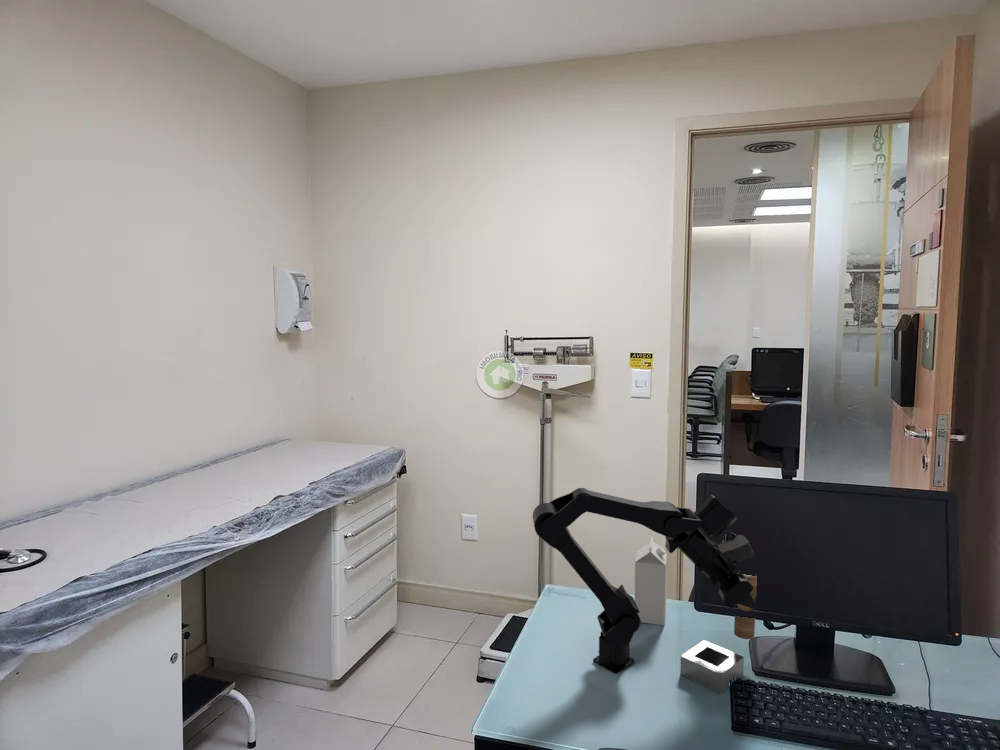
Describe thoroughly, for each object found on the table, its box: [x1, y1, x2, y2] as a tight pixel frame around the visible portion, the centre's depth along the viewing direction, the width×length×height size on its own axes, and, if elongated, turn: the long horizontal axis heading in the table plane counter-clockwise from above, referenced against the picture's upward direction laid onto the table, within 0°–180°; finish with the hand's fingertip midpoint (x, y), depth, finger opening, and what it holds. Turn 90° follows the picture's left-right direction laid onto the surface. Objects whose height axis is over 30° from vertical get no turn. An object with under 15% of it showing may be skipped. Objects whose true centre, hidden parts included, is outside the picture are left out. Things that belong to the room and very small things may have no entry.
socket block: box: [679, 639, 745, 695], centre depth 129 cm, size 9×9×4 cm
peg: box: [733, 573, 758, 640], centre depth 133 cm, size 4×4×13 cm
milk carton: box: [633, 536, 668, 626], centre depth 152 cm, size 7×7×19 cm
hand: (752, 602), depth 132 cm, fingers closed on peg, 4 cm apart
